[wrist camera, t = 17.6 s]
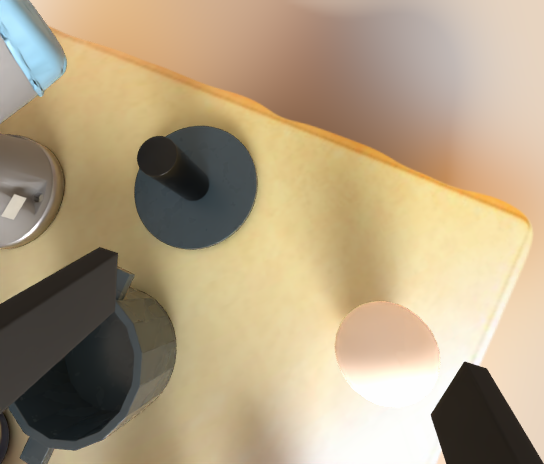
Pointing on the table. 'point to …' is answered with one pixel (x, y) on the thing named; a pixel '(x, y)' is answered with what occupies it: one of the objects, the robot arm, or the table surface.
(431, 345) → the egg
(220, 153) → the lid
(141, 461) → the table surface
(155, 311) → the pot
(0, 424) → the canister
